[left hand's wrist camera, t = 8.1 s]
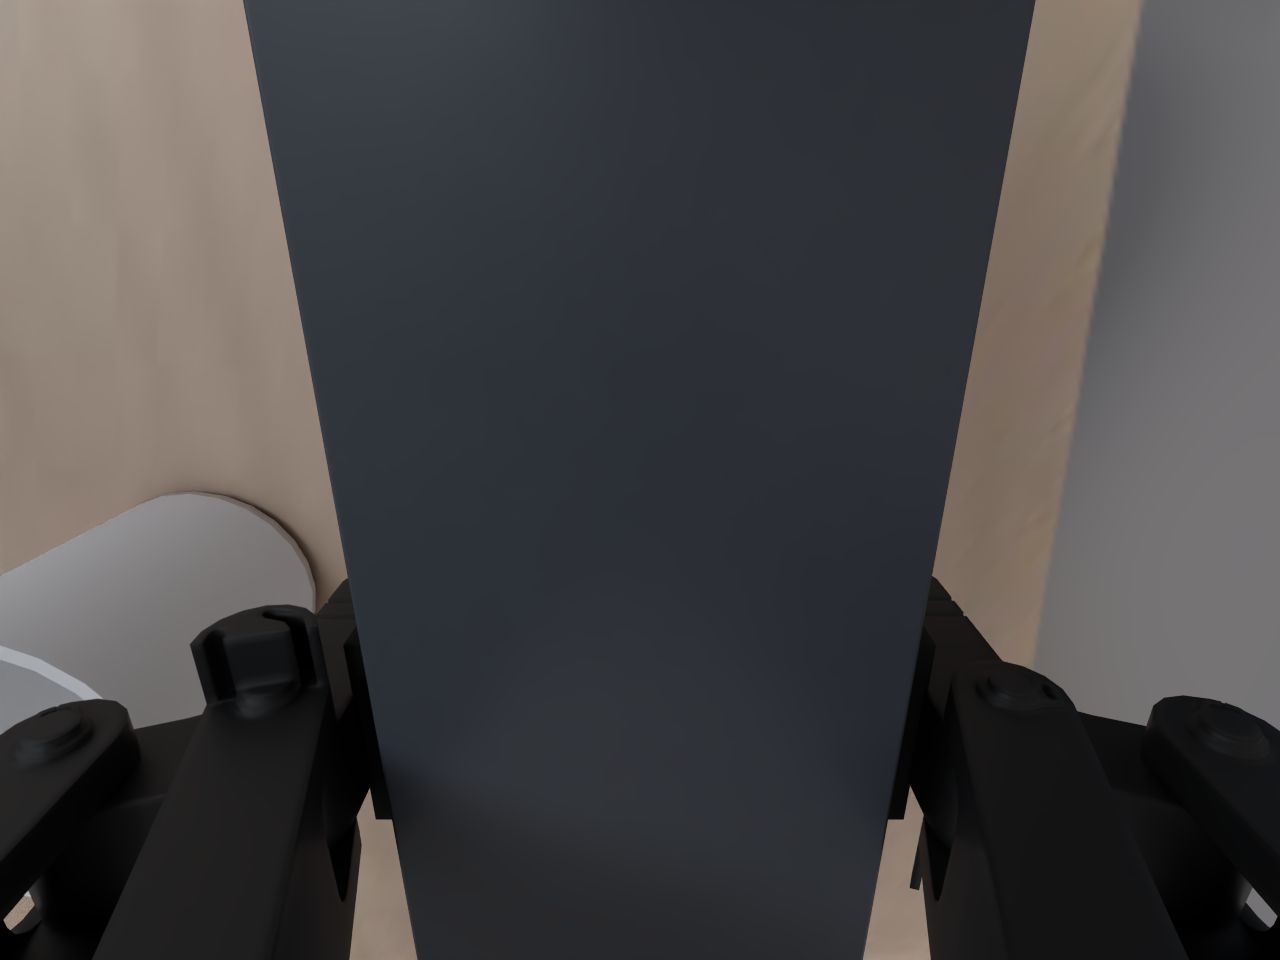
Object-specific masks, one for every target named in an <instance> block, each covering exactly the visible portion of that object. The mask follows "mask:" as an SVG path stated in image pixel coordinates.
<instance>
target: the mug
mask: <svg viewBox="0 0 1280 960" xmlns="http://www.w3.org/2000/svg"><path fill="white" fill-rule="evenodd" d="M285 604H290V605H294V606H299V607H304V608H307V609H308V610H309V611H311V612H312V613H313V614H314V613H315V610H316V588H315V583H314V580H313V577H312V573H311V570H310V567H309V563H308V561H307V559H306V558H305V556H304V555H303V553H302V551H301V550H300V548H299V546H298V545H297V543H296V542H295V540H294V539H293V538H292V537H291V536H290V535H289V534H288V533H287V532H286V531H285V530H284V529H283V528H282V527H281V526H280V525H279V524H278V523H277V522H276V521H274V520H273V519H271V518H270V517H268V516H267V515H265V514H264V513H262V512H261V511H259V510H258V509H256V508H254V507H253V506H251V505H248V504H246V503H243V502H240V501H238V500H235V499H233V498H230V497H227V496H223V495H217V494H210V493H204V492H197V491H188V492H176V493H166V494H164V495H161V496H158V497H155V498H153V499H150V500H147V501H145V502H142V503H141V504H139V505H137V506H135V507H133V508H131V509H129V510H127V511H125V512H123V513H122V514H120V515H118V516H116V517H114V518H112V519H110V520H108V521H106V522H104V523H102V524H100V525H98V526H96V527H94V528H92V529H90V530H88V531H86V532H85V533H83V534H81V535H79V536H77V537H75V538H73V539H71V540H69V541H67V542H65V543H63V544H61V545H59V546H57V547H55V548H53V549H51V550H49V551H48V552H46V553H44V554H42V555H40V556H38V557H36V558H34V559H32V560H30V561H28V562H26V563H24V564H22V565H20V566H18V567H16V568H14V569H12V570H11V571H9V572H7V573H5V574H3V575H1V576H0V735H1V734H2V733H4V732H5V731H7V730H8V729H9V728H11V727H12V726H14V725H15V724H17V723H19V722H21V721H23V720H25V719H27V718H30V717H32V716H34V715H36V714H37V713H39V712H41V711H43V710H46V709H48V708H51V707H54V706H56V707H57V706H59V705H61V704H65V703H69V702H75V701H83V700H90V699H105V700H113V701H117V702H118V703H120V704H121V705H123V706H124V707H125V708H127V710H128V713H129V716H130V719H131V722H132V725H133V728H134V729H137V728H142V727H147V726H152V725H157V724H162V723H167V722H171V721H176V720H181V719H186V718H190V717H194V716H198V715H201V714H203V711H204V709H205V707H206V705H207V704H206V700H205V697H204V693H203V690H202V686H201V683H200V679H199V676H198V672H197V669H196V665H195V662H194V658H193V655H192V651H191V648H190V643H191V642H192V641H193V640H194V639H195V638H196V637H197V636H198V634H199V633H200V632H201V631H203V630H204V629H206V628H207V627H209V626H211V625H212V624H214V623H215V622H217V621H219V620H220V619H223V618H225V617H228V616H230V615H233V614H235V613H238V612H241V611H243V610H248V609H252V608H257V607H261V606H266V605H285ZM24 896H27V897H31V895H30V893H29V891H27V893H26V894H25V895H24Z"/></svg>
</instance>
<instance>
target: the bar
mask: <svg viewBox="0 0 1280 960" xmlns="http://www.w3.org/2000/svg"><path fill="white" fill-rule="evenodd" d="M243 2H244V8H245V13H246V19H247V24H248V30H249V35H250V41H251V46H252V52H253V57H254V63H255V68H256V74H257V79H258V85H259V90H260V96H261V101H262V107H263V112H264V118H265V123H266V129H267V134H268V140H269V145H270V151H271V156H272V162H273V167H274V173H275V178H276V184H277V189H278V195H279V200H280V206H281V211H282V217H283V222H284V228H285V233H286V239H287V244H288V250H289V255H290V261H291V266H292V272H293V277H294V283H295V288H296V294H297V299H298V305H299V310H300V316H301V321H302V327H303V332H304V338H305V343H306V349H307V354H308V360H309V365H310V371H311V376H312V382H313V387H314V393H315V398H316V404H317V409H318V415H319V420H320V426H321V431H322V437H323V442H324V448H325V453H326V459H327V464H328V470H329V475H330V481H331V486H332V492H333V497H334V503H335V508H336V514H337V519H338V525H339V530H340V536H341V541H342V547H343V552H344V558H345V563H346V569H347V574H348V580H349V585H350V591H351V596H352V602H353V607H354V613H355V618H356V624H357V629H358V635H359V640H360V646H361V651H362V657H363V662H364V668H365V673H366V679H367V684H368V690H369V695H370V701H371V706H372V712H373V717H374V723H375V728H376V734H377V739H378V745H379V750H380V756H381V761H382V767H383V772H384V778H385V783H386V789H387V794H388V800H389V805H390V811H391V816H392V822H393V827H394V833H395V838H396V844H397V849H398V855H399V860H400V866H401V871H402V877H403V882H404V888H405V893H406V899H407V904H408V910H409V915H410V921H411V926H412V932H413V937H414V943H415V948H416V954H417V959H418V960H863V956H864V950H865V944H866V939H867V933H868V928H869V922H870V917H871V911H872V906H873V900H874V894H875V889H876V883H877V878H878V872H879V867H880V861H881V856H882V850H883V844H884V839H885V833H886V828H887V822H888V817H889V811H890V806H891V800H892V794H893V789H894V783H895V778H896V772H897V767H898V761H899V756H900V750H901V744H902V739H903V733H904V728H905V722H906V717H907V711H908V706H909V700H910V694H911V689H912V683H913V678H914V672H915V667H916V661H917V656H918V650H919V644H920V639H921V633H922V628H923V622H924V617H925V611H926V606H927V600H928V594H929V589H930V583H931V578H932V572H933V567H934V561H935V556H936V550H937V544H938V539H939V533H940V528H941V522H942V517H943V511H944V506H945V500H946V494H947V489H948V483H949V478H950V472H951V467H952V461H953V456H954V450H955V444H956V439H957V433H958V428H959V422H960V417H961V411H962V406H963V400H964V394H965V389H966V383H967V378H968V372H969V367H970V361H971V355H972V350H973V344H974V339H975V333H976V328H977V322H978V317H979V311H980V305H981V300H982V294H983V289H984V283H985V278H986V272H987V267H988V261H989V255H990V250H991V244H992V239H993V233H994V228H995V222H996V217H997V211H998V205H999V200H1000V194H1001V189H1002V183H1003V178H1004V172H1005V167H1006V161H1007V155H1008V150H1009V144H1010V139H1011V133H1012V128H1013V122H1014V117H1015V111H1016V105H1017V100H1018V94H1019V89H1020V83H1021V78H1022V72H1023V67H1024V61H1025V55H1026V50H1027V44H1028V39H1029V33H1030V28H1031V22H1032V17H1033V11H1034V5H1035V0H243Z"/></svg>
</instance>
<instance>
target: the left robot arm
mask: <svg viewBox="0 0 1280 960" xmlns="http://www.w3.org/2000/svg"><path fill="white" fill-rule="evenodd" d="M190 648H191V651H192V655H193V658H194V662H195V665H196V669H197V672H198V676H199V679H200V683H201V686H202V690H203V693H204V697H205V700H206V704H207V705H206V707H205V709H204V711H203V714H201V715H198V716H194V717H190V718H186V719H181V720H176V721H171V722H167V723H162V724H157V725H152V726H147V727H142V728H137V729H134V728H133V725H132V722H131V719H130V716H129V713H128V710H127V708H125V707H124V706H123V705H121V704H120V703H118V702H117V701H113V700H105V699H90V700H83V701H75V702H69V703H65V704H61V705H59V706H57V707H56V706H54V707H51V708H48V709H46V710H43V711H41V712H39V713H37V714H36V715H34V716H32V717H30V718H27V719H25V720H23V721H21V722H19V723H17V724H15V725H14V726H12V727H11V728H9V729H8V730H7V731H5V732H4V733H2V734H1V735H0V960H349V958H350V948H351V939H352V930H353V920H354V911H355V902H356V893H357V883H358V874H359V865H360V855H361V846H362V844H361V838H360V832H359V826H358V822H357V817H356V816H357V814H358V812H359V810H360V808H361V806H362V803H363V801H364V799H365V797H366V795H367V793H368V791H369V788H370V791H371V796H372V801H373V807H374V812H375V817H376V819H392V816H391V811H390V805H389V800H388V794H387V789H386V783H385V778H384V772H383V767H382V761H381V756H380V750H379V745H378V739H377V734H376V728H375V723H374V717H373V712H372V706H371V701H370V695H369V690H368V684H367V679H366V673H365V668H364V662H363V657H362V651H361V646H360V640H359V635H358V629H357V624H356V618H355V613H354V607H353V602H352V596H351V591H350V585H349V580H348V579H346V580H344V581H343V582H342V583H341V584H340V586H339V587H338V588H337V590H336V591H335V592H334V593H333V595H332V596H331V597H330V598H329V602H328V603H325V605H324V606H323V607H322V608H321V610H320V611H319V612H318V614H317V617H316V615H315V614H313V613H312V612H311V611H309V610H308V609H307V608H304V607H299V606H294V605H290V604H285V605H266V606H261V607H257V608H252V609H248V610H243V611H241V612H238V613H235V614H233V615H230V616H228V617H225V618H223V619H220V620H219V621H217V622H215V623H214V624H212V625H211V626H209V627H207V628H206V629H204V630H203V631H201V632H200V633H199V634H198V636H197V637H196V638H195V639H194V640H193V641H192V642H191V643H190ZM910 786H911V788H912V790H913V792H914V795H915V797H916V799H917V801H918V803H919V805H920V807H921V810H922V812H923V814H924V817H923V822H922V826H921V831H920V836H919V841H918V846H917V851H916V856H915V861H914V866H913V871H912V877H911V883H910V888H912V889H916V890H919V888H920V883H921V878H922V881H923V891H924V900H925V909H926V919H927V928H928V937H929V946H930V956H931V960H1280V731H1279V730H1277V729H1276V728H1275V727H1273V726H1272V725H1270V724H1269V723H1267V722H1266V721H1264V720H1262V719H1260V718H1258V717H1256V716H1254V715H1251V714H1249V713H1247V712H1245V711H1244V710H1242V709H1240V708H1238V707H1236V706H1233V705H1230V704H1227V703H1225V704H1224V703H1222V702H1221V701H1216V700H1212V699H1206V698H1199V697H1191V696H1184V695H1183V696H1175V697H1167V698H1163V699H1162V700H1160V701H1159V702H1158V703H1156V704H1155V705H1154V706H1153V709H1152V711H1151V714H1150V717H1149V720H1148V723H1147V726H1143V725H1138V724H1133V723H1128V722H1123V721H1118V720H1113V719H1108V718H1103V717H1098V716H1093V715H1089V714H1086V713H1082V712H1078V711H1077V710H1076V708H1075V706H1074V704H1073V702H1072V701H1071V700H1070V698H1069V697H1068V696H1067V694H1066V693H1065V692H1064V690H1063V689H1062V688H1060V687H1059V686H1058V685H1056V684H1055V683H1054V682H1052V681H1051V680H1049V679H1048V678H1047V677H1045V676H1043V675H1041V674H1039V673H1037V672H1034V671H1032V670H1030V669H1028V668H1026V667H1023V666H1020V665H1016V664H1012V663H1008V662H1004V661H1002V660H1001V659H1000V658H999V656H998V655H997V654H996V653H995V651H994V650H993V649H992V648H991V646H990V645H989V644H988V643H987V641H986V640H985V639H984V638H983V636H982V635H981V634H980V632H979V631H978V630H977V629H976V627H975V626H974V625H973V624H972V622H971V621H970V620H969V619H968V617H967V616H964V615H963V611H962V610H961V609H960V607H959V606H958V605H957V604H956V602H955V601H952V600H951V596H950V595H949V594H948V592H947V591H946V590H945V589H944V587H943V586H942V585H941V584H940V582H939V581H938V580H937V579H936V578H934V577H933V576H932V578H931V583H930V589H929V594H928V600H927V606H926V611H925V617H924V622H923V628H922V633H921V639H920V644H919V650H918V656H917V661H916V667H915V672H914V678H913V683H912V689H911V694H910V700H909V706H908V711H907V717H906V722H905V728H904V733H903V739H902V744H901V750H900V756H899V761H898V767H897V772H896V778H895V783H894V789H893V794H892V800H891V806H890V811H889V817H888V819H904V815H905V809H906V804H907V799H908V793H909V788H910ZM1252 887H1253V888H1254V889H1255V890H1256V892H1257V893H1258V894H1259V895H1260V896H1261V897H1262V898H1263V900H1264V901H1265V902H1266V903H1267V904H1268V905H1269V907H1270V908H1271V909H1272V910H1273V911H1274V912H1275V914H1276V915H1277V916H1278V917H1277V919H1276V921H1275V923H1274V925H1273V926H1272V927H1271V928H1270V927H1268V926H1267V925H1266V924H1265V923H1264V922H1263V921H1262V920H1261V919H1260V918H1259V917H1258V916H1257V915H1256V914H1255V913H1254V912H1253V910H1252V909H1251V908H1250V907H1249V906H1248V904H1247V903H1246V900H1247V898H1248V896H1249V894H1250V892H1251V889H1252ZM27 891H29V893H30V895H31V898H32V900H33V902H34V904H35V906H34V907H33V908H32V909H31V910H30V912H29V913H28V914H27V915H26V916H25V918H24V919H23V920H22V921H21V922H20V923H18V924H17V925H16V926H15V927H14V928H13V929H12V930H9V929H8V928H7V927H6V925H5V923H4V921H3V919H4V918H5V917H6V916H7V915H8V914H9V912H10V911H11V910H12V909H13V908H14V907H15V905H16V904H17V903H18V902H19V901H20V900H21V898H22V897H23V896H24V895H25V894H26V893H27Z"/></svg>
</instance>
